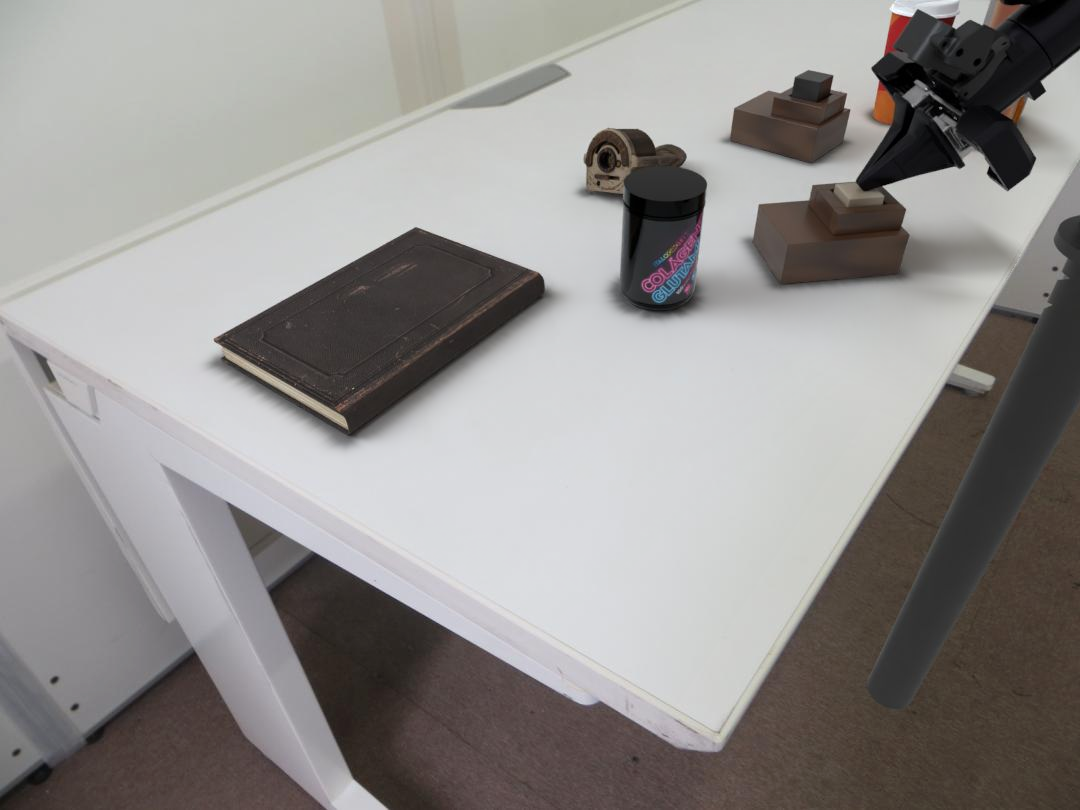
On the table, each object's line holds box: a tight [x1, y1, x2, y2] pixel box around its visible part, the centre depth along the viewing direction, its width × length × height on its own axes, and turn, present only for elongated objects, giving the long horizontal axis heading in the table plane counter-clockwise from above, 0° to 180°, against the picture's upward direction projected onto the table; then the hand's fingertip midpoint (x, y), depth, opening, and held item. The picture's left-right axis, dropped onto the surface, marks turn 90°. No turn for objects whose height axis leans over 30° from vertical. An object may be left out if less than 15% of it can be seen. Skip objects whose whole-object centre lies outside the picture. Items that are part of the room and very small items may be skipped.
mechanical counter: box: [582, 127, 688, 195], centre depth 83 cm, size 7×13×10 cm
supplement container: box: [619, 166, 708, 312], centre depth 65 cm, size 7×7×10 cm
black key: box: [791, 69, 834, 103], centre depth 88 cm, size 3×3×2 cm
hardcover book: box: [213, 226, 546, 435], centre depth 64 cm, size 16×23×2 cm
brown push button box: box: [752, 181, 911, 285], centre depth 70 cm, size 11×8×6 cm
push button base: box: [729, 86, 851, 164], centre depth 91 cm, size 11×8×6 cm
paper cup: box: [872, 0, 961, 125], centre depth 93 cm, size 8×8×14 cm
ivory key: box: [834, 181, 884, 208], centre depth 68 cm, size 3×3×2 cm
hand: (859, 186), depth 67 cm, fingers closed, pressing on ivory key
